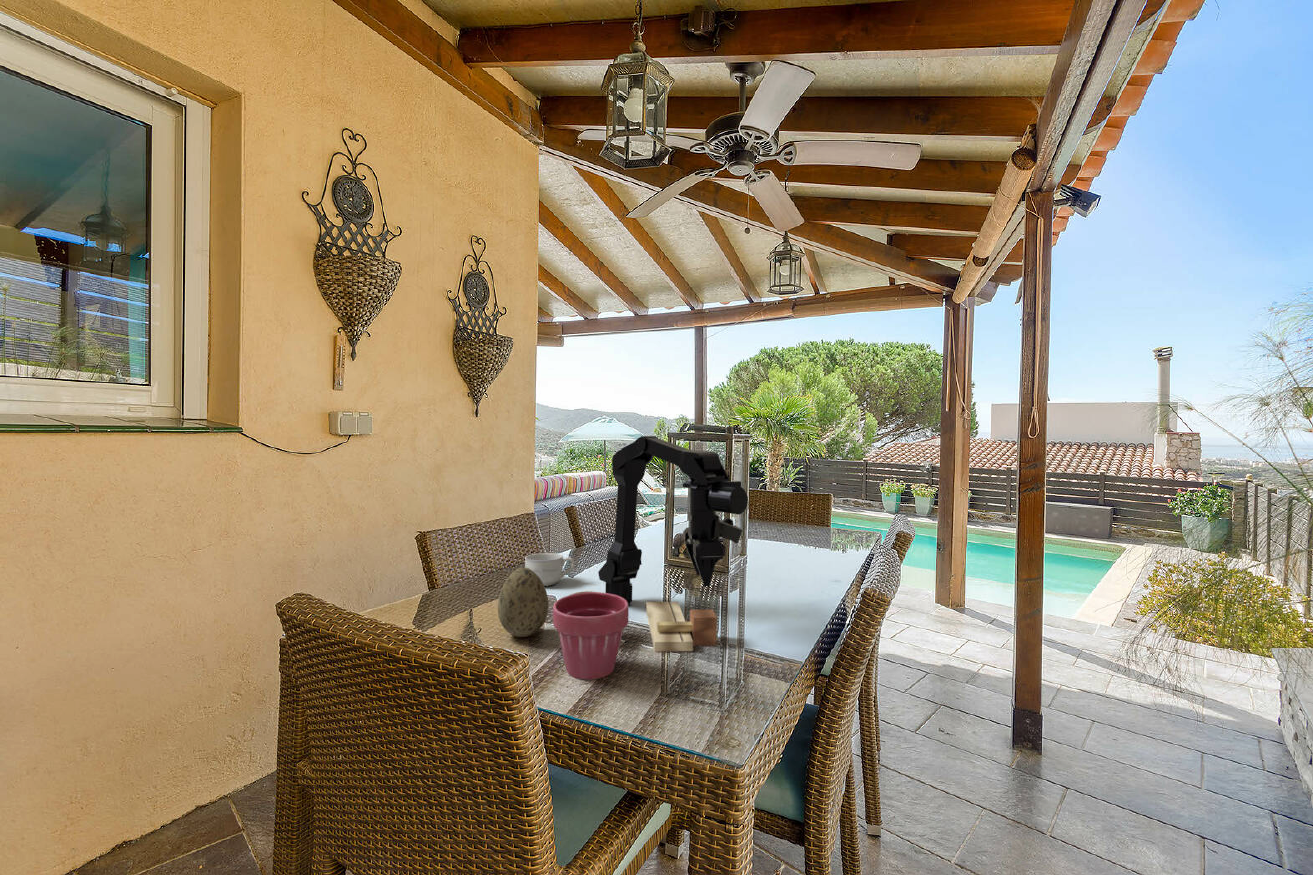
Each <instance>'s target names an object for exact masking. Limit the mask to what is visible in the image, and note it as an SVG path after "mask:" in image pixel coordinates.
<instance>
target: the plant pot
mask: <svg viewBox="0 0 1313 875" xmlns="http://www.w3.org/2000/svg"><path fill="white" fill-rule="evenodd" d="M572 594H573V593H572ZM568 595H569V596H568ZM568 595H565V596H563V597H560V598H559V599H558V600H556V601H555V602H554V604H553V608H552V624H553V627H554V628H555V629H556V631H558V635H559V636H558V637H559V640H560V646H561V651H562V656H563V660H564V664H565V665H564V666H565V670H566V672H567V674H569V676H570V677H573V678H575V679H579V680H585V681H586V680H597V679H598V680H599V679H602V678H605V677H607V676H609V675H610V674H612V673H613V672H614V669H615V665H616V663H617V662H616V661H617V658H618V655H619V654H618V653H619V649H620V645H621V641H622V636H623V631H624V629H625V628H626V627H627V626H628V624H629V607H630V606H628V602H627V601H626V600H625V599H624V598H622V597H620V596H617V595H614V594H609V593H605V592H601V593H600V591H594V592H587V593H578V594H573V595H570V594H568Z"/></svg>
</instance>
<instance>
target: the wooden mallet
mask: <svg viewBox="0 0 1313 875" xmlns="http://www.w3.org/2000/svg"><path fill="white" fill-rule="evenodd" d="M717 621H718V618H717V615H716V613H715V611H714V610H713V609H712V608H711V609H690V610H689V621H685V622H657V632H683V631H689V632H690V635H691V637H692V640H693V646H716V645H717V632H718V631H717V624H718V622H717Z"/></svg>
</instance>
